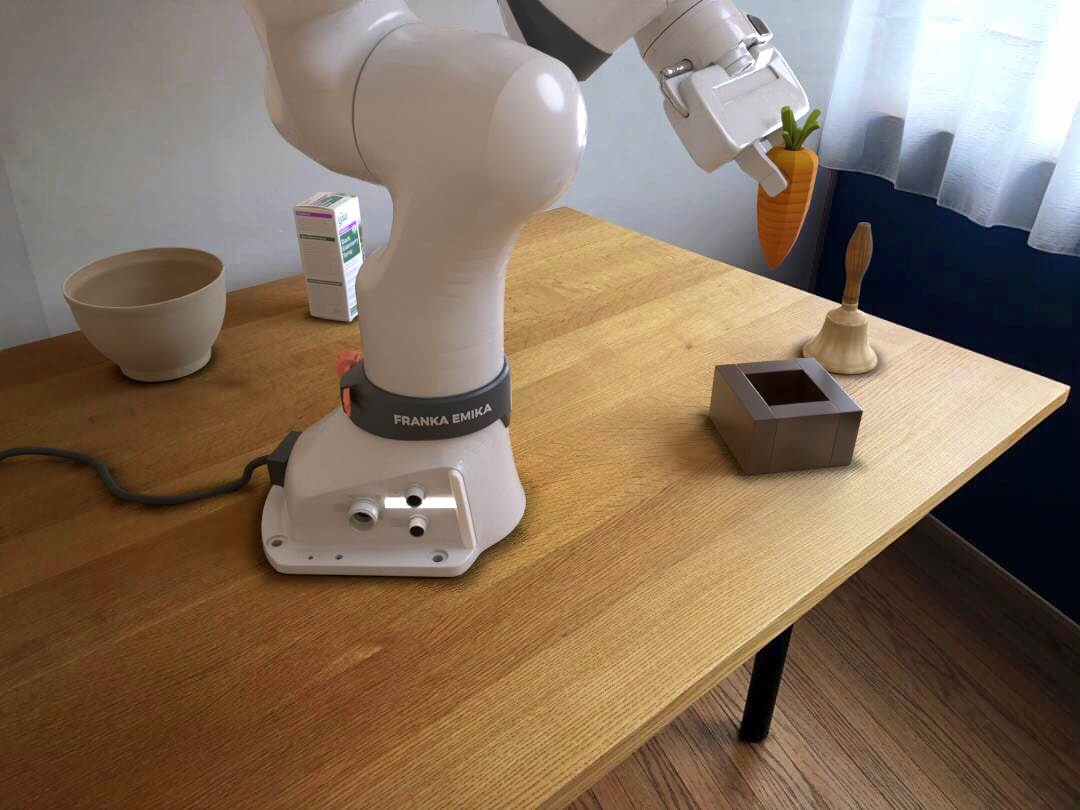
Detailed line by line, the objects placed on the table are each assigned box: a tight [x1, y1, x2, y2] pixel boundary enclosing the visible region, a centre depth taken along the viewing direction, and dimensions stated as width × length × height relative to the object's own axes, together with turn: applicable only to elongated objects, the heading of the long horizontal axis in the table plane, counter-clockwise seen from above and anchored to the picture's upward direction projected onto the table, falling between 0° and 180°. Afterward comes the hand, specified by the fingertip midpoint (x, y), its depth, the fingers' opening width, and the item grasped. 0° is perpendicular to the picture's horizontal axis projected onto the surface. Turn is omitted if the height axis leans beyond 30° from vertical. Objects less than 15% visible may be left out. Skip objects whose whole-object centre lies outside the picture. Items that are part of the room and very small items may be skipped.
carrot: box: [756, 106, 822, 271], centre depth 77 cm, size 5×5×15 cm
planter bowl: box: [61, 246, 227, 383], centre depth 95 cm, size 16×16×11 cm
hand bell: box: [802, 221, 878, 375], centre depth 95 cm, size 8×8×16 cm
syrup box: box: [292, 191, 367, 323], centre depth 106 cm, size 6×6×14 cm
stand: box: [708, 357, 864, 476], centre depth 83 cm, size 10×10×6 cm
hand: (793, 182), depth 77 cm, fingers closed on carrot, 4 cm apart
